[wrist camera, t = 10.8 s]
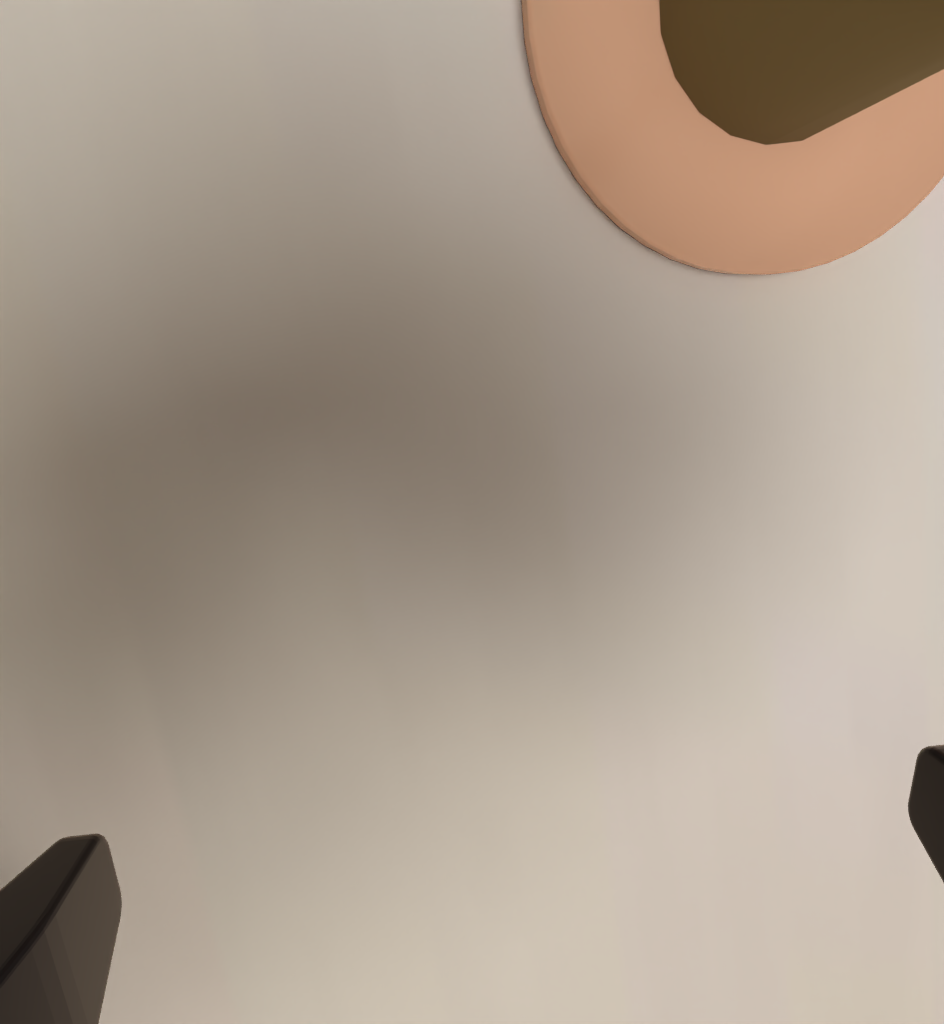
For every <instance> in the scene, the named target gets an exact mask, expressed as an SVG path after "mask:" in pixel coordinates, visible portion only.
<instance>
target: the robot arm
mask: <svg viewBox="0 0 944 1024" xmlns="http://www.w3.org/2000/svg"><path fill="white" fill-rule="evenodd" d="M908 811H909V817H910V820H911V823H912V826H913V828H914V830H915V832H916V833H917V835H918V837H919V839H920V841H921V842H922V844H923V846H924V848H925V850H926V851H927V853H928V855H929V857H930V859H931V861H932V862H933V864H934V866H935V868H936V870H937V871H938V873H939V875H940V877H941V879H942V880H943V882H944V745H936V746H928V747H926V748H923V749H922V750H921V751H920V753H919V754H918V757H917V760H916V766H915V771H914V776H913V781H912V786H911V791H910V796H909V802H908ZM121 907H122V900H121V892H120V887H119V883H118V880H117V876H116V872H115V868H114V864H113V860H112V856H111V852H110V848H109V845H108V842H107V840H106V839H105V837H104V836H102V835H100V834H89V835H80V836H70V837H65V838H62V839H60V840H59V841H57V842H56V843H54V844H53V845H52V846H51V847H50V848H49V849H47V850H46V851H45V852H44V853H43V854H42V855H40V856H39V857H38V858H37V859H36V860H35V861H34V862H32V863H31V864H30V865H29V866H28V867H27V868H25V869H24V870H23V871H22V872H21V873H20V874H18V875H17V876H16V877H15V878H14V879H13V880H12V881H10V882H9V883H8V884H7V885H6V886H5V887H3V888H2V889H1V890H0V1024H98V1023H99V1018H100V1013H101V1008H102V1003H103V999H104V994H105V989H106V984H107V979H108V975H109V970H110V965H111V960H112V955H113V951H114V946H115V941H116V936H117V931H118V927H119V922H120V916H121Z"/></svg>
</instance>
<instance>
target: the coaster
mask: <svg viewBox="0 0 944 1024" xmlns="http://www.w3.org/2000/svg"><path fill="white" fill-rule="evenodd" d="M522 14H523V27H524V41H525V47H526V52H527V57H528V63H529V68H530V73H531V79H532V82H533V86H534V89H535V92H536V95H537V99H538V102H539V105H540V108H541V111H542V115H543V117H544V120H545V122H546V124H547V126H548V129H549V131H550V133H551V135H552V138H553V140H554V142H555V144H556V147H557V149H558V151H559V152H560V154H561V156H562V157H563V159H564V161H565V162H566V164H567V166H568V167H569V169H570V171H571V172H572V174H573V176H574V177H575V179H576V180H577V182H578V183H579V184H580V185H581V187H582V188H583V189H584V190H585V192H586V193H587V194H588V195H589V197H590V198H591V199H592V201H593V202H594V203H595V204H596V206H598V207H599V208H600V209H601V210H602V211H603V212H604V213H605V214H606V215H607V216H608V217H609V218H610V219H611V220H612V221H613V222H614V223H615V224H616V225H617V226H618V227H619V228H621V229H622V230H623V231H625V232H626V233H628V234H629V235H630V236H632V237H633V238H635V239H636V240H637V241H639V242H640V243H641V244H643V245H644V246H646V247H648V248H650V249H652V250H654V251H656V252H658V253H660V254H661V255H663V256H665V257H667V258H669V259H671V260H674V261H677V262H680V263H683V264H686V265H689V266H692V267H695V268H698V269H703V270H709V271H714V272H720V273H726V274H777V273H785V272H793V271H800V270H804V269H808V268H811V267H815V266H819V265H822V264H826V263H829V262H831V261H834V260H836V259H838V258H841V257H843V256H845V255H848V254H850V253H852V252H855V251H856V250H858V249H860V248H862V247H863V246H865V245H867V244H868V243H870V242H872V241H873V240H875V239H877V238H878V237H880V236H882V235H883V234H884V233H885V232H887V231H888V230H889V229H891V228H892V227H893V226H895V225H896V224H897V223H898V222H900V221H901V220H902V219H904V218H905V217H906V216H907V215H908V214H909V213H910V212H911V211H912V210H913V209H914V208H915V207H916V206H917V205H918V204H919V203H920V202H921V201H922V200H923V199H924V198H925V197H926V196H927V195H928V194H929V193H930V192H931V191H932V190H933V188H934V187H935V186H936V185H937V184H938V182H939V181H940V180H941V179H942V177H943V176H944V69H943V70H941V71H939V72H937V73H935V74H933V75H931V76H929V77H927V78H925V79H923V80H921V81H920V82H918V83H916V84H914V85H912V86H910V87H908V88H906V89H904V90H902V91H900V92H898V93H896V94H894V95H892V96H890V97H888V98H886V99H884V100H882V101H880V102H878V103H876V104H874V105H872V106H870V107H868V108H866V109H864V110H862V111H860V112H858V113H856V114H854V115H852V116H850V117H848V118H846V119H844V120H842V121H840V122H838V123H837V124H835V125H833V126H831V127H829V128H827V129H825V130H823V131H821V132H819V133H817V134H815V135H813V136H811V137H809V138H807V139H805V140H803V141H796V142H788V143H779V144H771V145H764V144H760V143H757V142H753V141H749V140H746V139H742V138H738V137H734V136H731V135H729V134H728V133H727V132H725V131H724V130H723V129H721V128H720V127H718V126H717V125H716V124H714V123H713V122H712V121H710V120H709V119H707V118H706V117H705V116H703V115H702V114H701V113H699V111H698V110H697V108H696V107H695V106H694V104H693V103H692V101H691V100H690V98H689V97H688V95H687V94H686V93H685V91H684V90H683V88H682V87H681V85H680V84H679V82H678V81H677V80H676V78H675V76H674V72H673V69H672V66H671V63H670V60H669V57H668V54H667V51H666V48H665V45H664V42H663V39H662V35H661V25H660V4H659V0H522Z"/></svg>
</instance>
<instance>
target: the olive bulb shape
mask: <svg viewBox="0 0 944 1024" xmlns="http://www.w3.org/2000/svg"><path fill="white" fill-rule="evenodd" d="M659 4H660V25H661V35H662V39H663V42H664V45H665V48H666V51H667V54H668V57H669V60H670V63H671V66H672V69H673V72H674V76H675V78H676V80H677V81H678V82H679V84H680V85H681V87H682V88H683V90H684V91H685V93H686V94H687V95H688V97H689V98H690V100H691V101H692V103H693V104H694V106H695V107H696V108H697V110H698V111H699V113H701V114H702V115H703V116H705V117H706V118H707V119H709V120H710V121H712V122H713V123H714V124H716V125H717V126H718V127H720V128H721V129H723V130H724V131H725V132H727V133H728V134H729V135H731V136H734V137H738V138H742V139H746V140H749V141H753V142H757V143H760V144H764V145H771V144H779V143H788V142H796V141H803V140H805V139H807V138H809V137H811V136H813V135H815V134H817V133H819V132H821V131H823V130H825V129H827V128H829V127H831V126H833V125H835V124H837V123H838V122H840V121H842V120H844V119H846V118H848V117H850V116H852V115H854V114H856V113H858V112H860V111H862V110H864V109H866V108H868V107H870V106H872V105H874V104H876V103H878V102H880V101H882V100H884V99H886V98H888V97H890V96H892V95H894V94H896V93H898V92H900V91H902V90H904V89H906V88H908V87H910V86H912V85H914V84H916V83H918V82H920V81H921V80H923V79H925V78H927V77H929V76H931V75H933V74H935V73H937V72H939V71H941V70H943V69H944V0H659Z"/></svg>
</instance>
